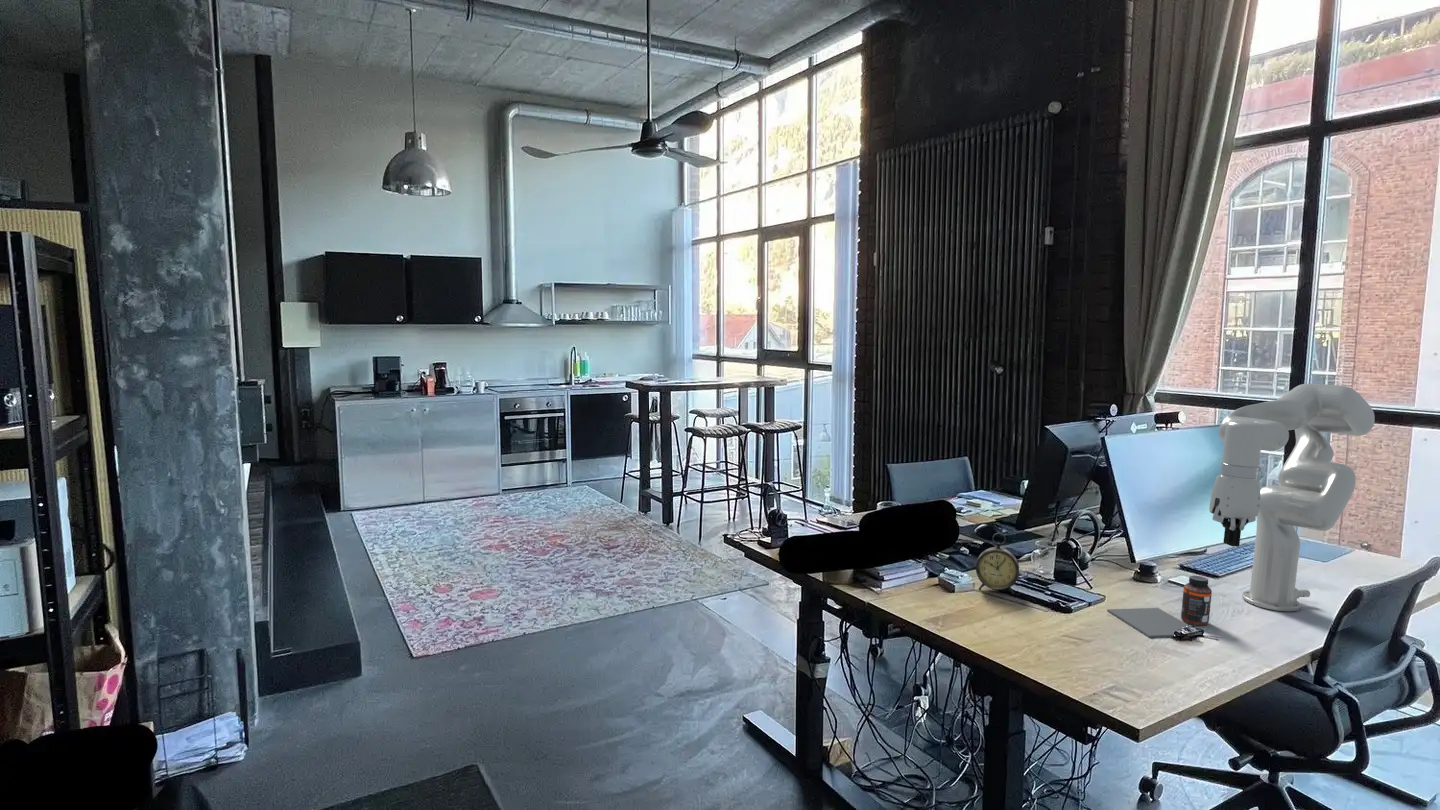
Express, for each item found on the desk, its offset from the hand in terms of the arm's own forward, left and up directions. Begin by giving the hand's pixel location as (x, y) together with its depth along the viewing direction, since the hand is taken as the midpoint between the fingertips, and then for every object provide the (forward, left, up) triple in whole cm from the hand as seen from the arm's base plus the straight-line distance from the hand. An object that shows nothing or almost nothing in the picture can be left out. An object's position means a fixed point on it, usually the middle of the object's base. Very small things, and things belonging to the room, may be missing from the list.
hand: (1231, 544), depth 190 cm
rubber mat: (+19, 0, -20) cm, 27 cm away
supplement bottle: (+8, 0, -20) cm, 21 cm away
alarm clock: (+48, -24, -20) cm, 57 cm away
